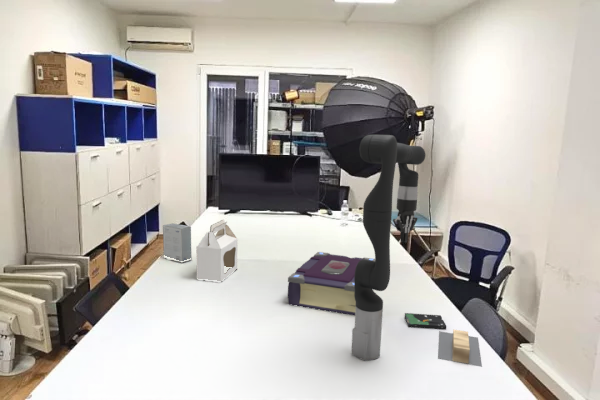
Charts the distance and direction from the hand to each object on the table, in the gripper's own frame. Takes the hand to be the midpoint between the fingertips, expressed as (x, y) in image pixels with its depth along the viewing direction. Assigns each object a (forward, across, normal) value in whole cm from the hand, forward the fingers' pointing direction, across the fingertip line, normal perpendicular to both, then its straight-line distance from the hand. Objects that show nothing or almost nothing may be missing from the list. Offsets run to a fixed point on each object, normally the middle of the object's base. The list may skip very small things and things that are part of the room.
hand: (403, 241), depth 172 cm
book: (+34, +4, +40) cm, 53 cm away
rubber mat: (+34, +2, -26) cm, 43 cm away
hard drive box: (+34, -33, +131) cm, 139 cm away
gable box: (+34, -28, +94) cm, 104 cm away
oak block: (+31, +5, -24) cm, 40 cm away
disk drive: (+34, +10, -6) cm, 36 cm away
